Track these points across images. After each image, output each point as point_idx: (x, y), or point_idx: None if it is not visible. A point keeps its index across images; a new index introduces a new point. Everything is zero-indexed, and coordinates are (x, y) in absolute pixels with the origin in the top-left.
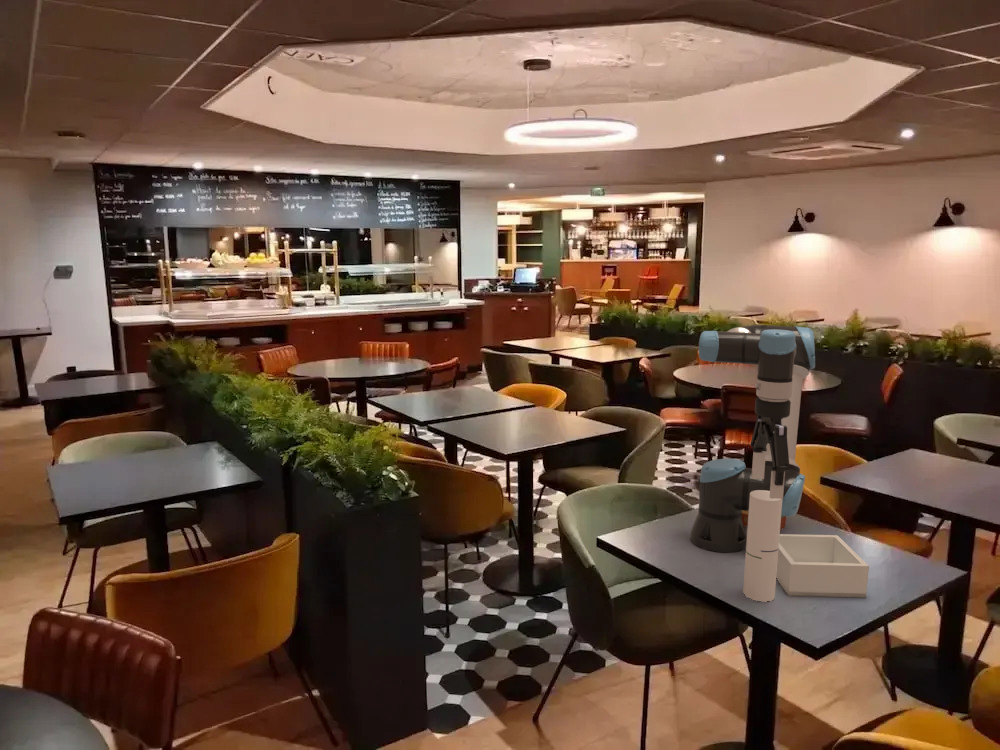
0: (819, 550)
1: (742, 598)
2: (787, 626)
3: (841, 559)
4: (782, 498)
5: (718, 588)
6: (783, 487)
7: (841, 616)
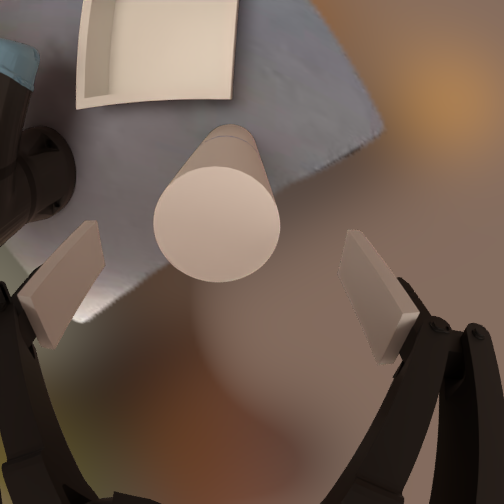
0: (103, 12)
1: None
2: (333, 144)
3: None
4: (360, 232)
5: None
6: (380, 257)
7: (306, 45)
